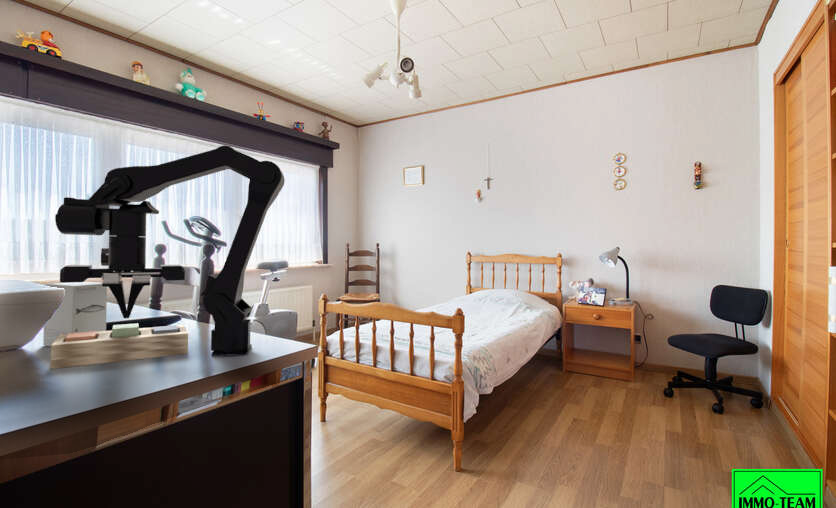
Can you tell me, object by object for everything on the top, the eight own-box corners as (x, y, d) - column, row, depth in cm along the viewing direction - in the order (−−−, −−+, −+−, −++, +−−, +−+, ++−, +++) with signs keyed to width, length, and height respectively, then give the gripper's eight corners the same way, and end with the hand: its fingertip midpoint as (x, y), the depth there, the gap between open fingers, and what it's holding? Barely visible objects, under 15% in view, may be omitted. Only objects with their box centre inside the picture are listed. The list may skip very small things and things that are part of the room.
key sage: (138, 335, 79) (138, 323, 79) (138, 340, 76) (138, 327, 76) (113, 337, 77) (113, 325, 77) (111, 342, 74) (112, 329, 74)
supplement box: (71, 349, 79) (72, 285, 79) (41, 346, 80) (42, 283, 80) (107, 340, 86) (108, 282, 86) (79, 338, 88) (80, 280, 87)
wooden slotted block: (183, 343, 86) (183, 324, 86) (187, 353, 79) (188, 333, 79) (59, 355, 75) (59, 334, 74) (51, 368, 67) (51, 345, 67)
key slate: (176, 337, 83) (176, 325, 83) (177, 341, 80) (178, 329, 80) (153, 339, 81) (153, 327, 81) (153, 343, 77) (154, 330, 77)
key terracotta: (96, 344, 76) (96, 331, 76) (94, 349, 72) (94, 335, 72) (68, 346, 73) (68, 333, 73) (65, 352, 70) (65, 337, 70)
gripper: (180, 238, 88) (179, 308, 88) (69, 234, 77) (68, 314, 78) (185, 238, 79) (184, 317, 79) (59, 234, 68) (58, 325, 69)
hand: (126, 318), depth 76 cm, fingers closed
